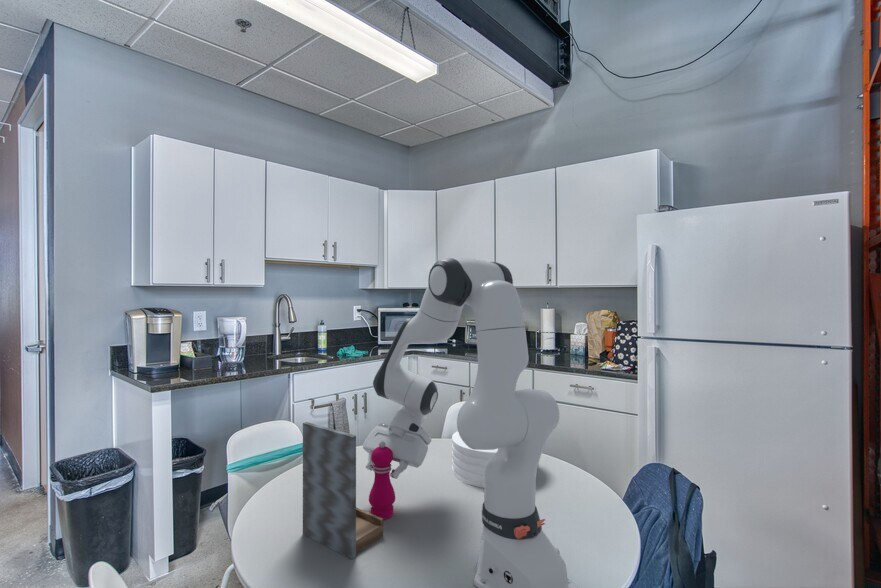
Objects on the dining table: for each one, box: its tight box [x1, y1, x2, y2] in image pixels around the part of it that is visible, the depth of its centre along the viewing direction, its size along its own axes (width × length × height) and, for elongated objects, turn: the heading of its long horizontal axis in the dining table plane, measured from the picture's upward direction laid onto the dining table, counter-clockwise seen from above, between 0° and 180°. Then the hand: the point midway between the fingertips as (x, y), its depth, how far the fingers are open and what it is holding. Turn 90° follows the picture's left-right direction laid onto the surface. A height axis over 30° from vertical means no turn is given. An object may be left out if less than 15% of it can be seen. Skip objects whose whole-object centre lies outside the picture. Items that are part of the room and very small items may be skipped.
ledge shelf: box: [302, 421, 384, 560], centre depth 111 cm, size 18×11×28 cm, turn 54°
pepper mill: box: [368, 441, 396, 520], centre depth 122 cm, size 7×7×20 cm
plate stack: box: [451, 430, 498, 489], centre depth 152 cm, size 28×28×12 cm
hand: (380, 473), depth 122 cm, fingers open, 8 cm apart
